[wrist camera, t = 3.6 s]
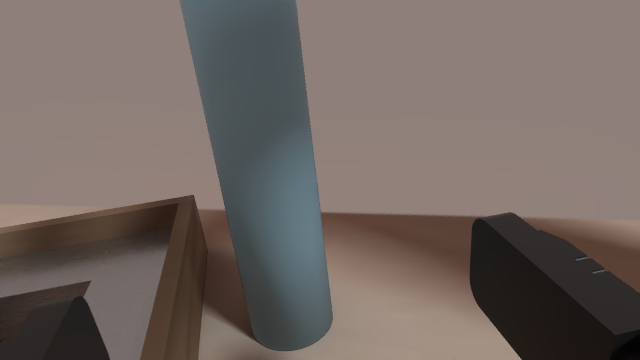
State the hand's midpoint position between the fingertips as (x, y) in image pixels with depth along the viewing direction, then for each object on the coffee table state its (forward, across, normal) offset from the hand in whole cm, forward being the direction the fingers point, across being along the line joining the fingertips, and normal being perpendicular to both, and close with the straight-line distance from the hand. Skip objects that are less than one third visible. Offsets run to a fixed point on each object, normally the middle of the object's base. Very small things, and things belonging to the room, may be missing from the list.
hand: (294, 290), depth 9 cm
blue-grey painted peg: (+10, 0, +9) cm, 13 cm away
